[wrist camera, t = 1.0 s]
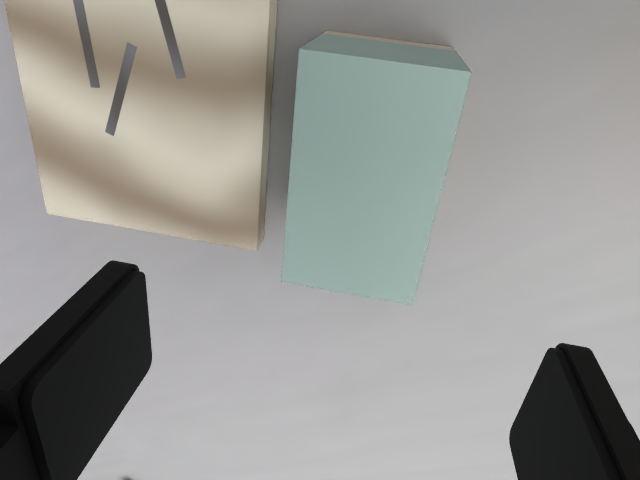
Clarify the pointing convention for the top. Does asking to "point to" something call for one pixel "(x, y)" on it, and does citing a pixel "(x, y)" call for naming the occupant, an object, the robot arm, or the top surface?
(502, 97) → the top surface
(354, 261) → the block
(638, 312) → the top surface
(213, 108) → the board
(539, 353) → the top surface
